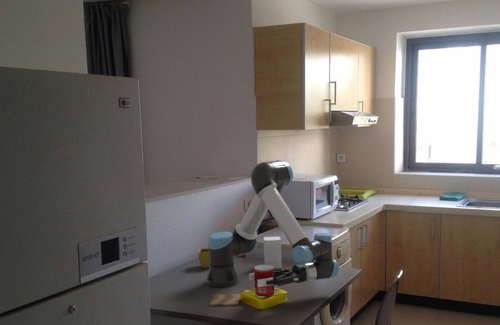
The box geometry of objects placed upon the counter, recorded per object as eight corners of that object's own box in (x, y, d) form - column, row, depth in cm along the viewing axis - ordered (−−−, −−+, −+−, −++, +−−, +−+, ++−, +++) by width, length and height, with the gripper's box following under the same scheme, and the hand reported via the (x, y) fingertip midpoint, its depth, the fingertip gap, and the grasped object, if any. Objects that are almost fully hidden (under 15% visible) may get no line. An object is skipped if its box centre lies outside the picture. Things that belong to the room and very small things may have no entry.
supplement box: (282, 268, 249) (280, 239, 248) (264, 269, 249) (263, 240, 248) (281, 263, 258) (280, 236, 257) (264, 264, 258) (263, 236, 257)
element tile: (289, 302, 200) (288, 290, 200) (260, 310, 191) (260, 299, 191) (266, 293, 212) (266, 282, 212) (238, 301, 203) (238, 290, 203)
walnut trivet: (209, 305, 198) (209, 304, 198) (213, 296, 210) (213, 294, 210) (238, 305, 197) (238, 303, 197) (241, 295, 209) (241, 294, 209)
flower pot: (215, 268, 253) (214, 252, 252) (198, 269, 253) (197, 252, 253) (216, 264, 262) (216, 248, 261) (200, 264, 262) (200, 248, 261)
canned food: (277, 294, 196) (276, 267, 195) (260, 297, 193) (259, 270, 192) (269, 289, 203) (268, 263, 202) (252, 292, 200) (251, 266, 199)
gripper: (315, 288, 193) (263, 297, 186) (293, 274, 214) (245, 282, 206) (315, 270, 193) (263, 278, 185) (292, 258, 213) (244, 264, 205)
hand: (253, 280), depth 196 cm, fingers open, 9 cm apart
